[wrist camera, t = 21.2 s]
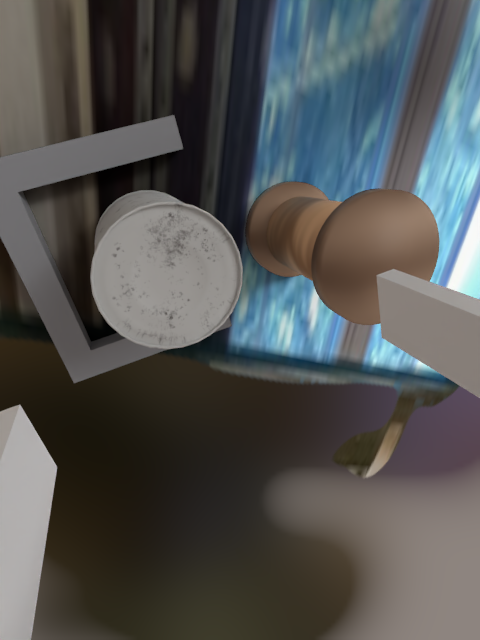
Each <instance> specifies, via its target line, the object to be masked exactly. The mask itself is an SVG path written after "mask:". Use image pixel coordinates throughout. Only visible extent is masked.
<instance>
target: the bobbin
mask: <svg viewBox="0 0 480 640" xmlns="http://www.w3.org/2000/svg"><path fill="white" fill-rule="evenodd" d="M245 233H246V242H247V246H248V249H249V251H250V253H251V255H252V256H253V258H254V259H255V260H256V262H257V263H258V264H260V265H261V266H262V267H264V268H265V269H267V270H268V271H270V272H272V273H274V274H276V275H279V276H284V277H294V276H299V275H303V276H305V277H307V278H308V279H310V280H312V281H313V284H314V287H315V289H316V292H317V294H318V295H319V297H320V299H321V300H322V301H323V303H324V304H325V305H326V306H327V307H328V308H329V309H331V310H332V311H334V312H335V313H337V314H338V315H340V316H342V317H343V318H345V319H346V320H349V321H351V322H353V323H357V324H362V325H374V324H379V323H381V321H380V310H379V299H378V287H377V276H376V275H378V274H381V273H384V272H387V271H389V270H392V269H395V270H398V271H401V272H404V273H406V274H409V275H412V276H415V277H418V278H420V279H423V280H426V281H430V279H431V277H432V275H433V272H434V269H435V266H436V262H437V258H438V252H439V233H438V228H437V224H436V221H435V218H434V216H433V214H432V212H431V210H430V209H429V207H428V206H427V205H426V204H425V203H424V202H423V201H422V200H421V199H420V198H418V197H417V196H416V195H413V194H411V193H409V192H406V191H402V190H390V189H370V190H365V191H362V192H359V193H357V194H355V195H353V196H351V197H349V198H348V199H346V200H345V201H344V202H338V201H331V200H329V199H328V198H327V196H326V195H325V194H324V193H323V192H322V191H321V190H319V189H318V188H316V187H315V186H313V185H310V184H307V183H303V182H283V183H279V184H276V185H274V186H272V187H270V188H268V189H267V190H265V191H264V192H263V193H262V194H261V195H260V196H259V197H258V198H257V199H256V201H255V202H254V204H253V205H252V207H251V209H250V211H249V214H248V217H247V221H246V229H245Z"/></svg>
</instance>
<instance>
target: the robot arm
mask: <svg viewBox="0 0 480 640" xmlns="http://www.w3.org/2000/svg"><path fill="white" fill-rule="evenodd" d="M376 276H377V287H378V299H379V310H380V321H381V333H382V338H384V339H385V340H387V341H388V342H390V343H392V344H393V345H395V346H397V347H398V348H400V349H401V350H403V351H405V352H406V353H408V354H409V355H411V356H413V357H414V358H416V359H418V360H419V361H421V362H422V363H424V364H426V365H427V366H429V367H431V368H432V369H434V370H435V371H437V372H439V373H440V374H442V375H443V376H445V377H447V378H448V379H450V380H452V381H453V382H455V383H456V384H458V385H460V386H461V387H463V388H465V389H466V390H468V391H469V392H471V393H473V394H474V395H476V396H477V397H479V398H480V300H479V299H476V298H474V297H471V296H468V295H465V294H462V293H460V292H457V291H454V290H451V289H448V288H446V287H443V286H440V285H437V284H434V283H432V282H429V281H426V280H423V279H420V278H418V277H415V276H412V275H409V274H406V273H404V272H401V271H398V270H395V269H392V270H389V271H387V272H384V273H381V274H378V275H376ZM56 471H57V466H56V464H55V463H54V461H53V459H52V458H51V456H50V455H49V453H48V451H47V449H46V447H45V446H44V444H43V442H42V441H41V439H40V437H39V436H38V434H37V432H36V431H35V429H34V427H33V426H32V424H31V422H30V420H29V419H28V417H27V415H26V414H25V412H24V410H23V409H22V407H21V405H17V406H14V407H12V408H9V409H6V410H3V411H1V412H0V640H31V635H32V628H33V622H34V615H35V609H36V602H37V596H38V589H39V583H40V582H39V581H40V576H41V570H42V562H43V556H44V550H45V543H46V537H47V530H48V524H49V517H50V511H51V504H52V497H53V491H54V484H55V478H56Z"/></svg>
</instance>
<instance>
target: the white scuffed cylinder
mask: <svg viewBox="0 0 480 640" xmlns="http://www.w3.org/2000/svg"><path fill="white" fill-rule="evenodd" d="M94 243H95V252H94V256H93V258H92V265H91V274H90V280H91V288H92V295H93V297H94V300H95V302H96V305H97V307H98V310H99V312H100V313H101V314H102V316H103V317H104V319H105V320H106V322H107V323H108V324H109V325H110V326H111V327H112V328H113V329H114V330H115V331H117V332H118V333H119V334H120V335H121V336H123V337H125V338H127V339H128V340H130V341H132V342H134V343H136V344H139V345H143V346H146V347H149V348H158V349H173V348H182V347H185V346H188V345H191V344H194V343H197V342H199V341H201V340H203V339H204V338H206V337H208V336H210V335H211V334H212V333H214V332H215V331H216V330H217V329H218V328H219V327H220V326H222V325H223V324H224V322H225V321H226V320H227V318H228V317H229V316H230V314H231V313H232V311H233V309H234V307H235V305H236V303H237V301H238V299H239V295H240V291H241V287H242V276H243V267H242V262H241V257H240V252H239V250H238V248H237V245H236V243H235V241H234V239H233V237H232V236H231V234H230V233H229V232H228V230H227V229H226V228H225V226H224V225H223V224H222V223H221V222H220V221H218V220H217V219H216V218H215V217H213V216H212V215H211V214H210V213H208V212H206V211H204V210H202V209H200V208H198V207H196V206H193V205H189V204H185V203H183V202H181V201H179V200H178V199H176V198H174V197H172V196H170V195H168V194H166V193H162V192H158V191H154V190H140V191H136V192H132V193H128V194H126V195H124V196H122V197H120V198H118V199H117V200H116V201H114V202H113V203H112V204H111V205H110V206H109V207H108V208H107V209H106V210H105V212H104V213H103V215H102V216H101V218H100V220H99V223H98V225H97V228H96V233H95V241H94Z"/></svg>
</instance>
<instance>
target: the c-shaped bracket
mask: <svg viewBox="0 0 480 640" xmlns="http://www.w3.org/2000/svg"><path fill="white" fill-rule="evenodd" d="M181 149H183V146H182V142H181V139H180V135H179V131H178V128H177V124H176V120H175V117H174V115H172V116H168V117H163V118H159V119H155V120H151V121H147V122H143V123H139V124H135V125H131V126H127V127H122V128H118V129H114V130H110V131H106V132H102V133H98V134H94V135H90V136H85V137H81V138H77V139H73V140H69V141H65V142H61V143H57V144H53V145H49V146H44V147H40V148H36V149H32V150H28V151H24V152H20V153H16V154H12V155H8V156H3V157H0V237H1V239H2V241H3V243H4V245H5V247H6V249H7V251H8V253H9V255H10V257H11V259H12V261H13V263H14V265H15V267H16V269H17V271H18V273H19V275H20V277H21V279H22V281H23V283H24V285H25V287H26V289H27V291H28V293H29V295H30V297H31V299H32V301H33V303H34V305H35V307H36V309H37V311H38V313H39V315H40V317H41V319H42V321H43V323H44V325H45V327H46V329H47V331H48V333H49V335H50V337H51V339H52V341H53V343H54V344H55V346H56V348H57V350H58V352H59V354H60V356H61V358H62V360H63V362H64V364H65V366H66V368H67V370H68V372H69V374H70V376H71V378H72V380H73V382H74V383H76V382H79V381H82V380H85V379H87V378H90V377H93V376H96V375H98V374H101V373H104V372H107V371H109V370H112V369H115V368H118V367H120V366H123V365H126V364H129V363H131V362H134V361H137V360H140V359H142V358H145V357H148V356H151V355H153V354H156V353H159V352H162V351H164V350H167V349H158V348H149V347H146V346H143V345H139V344H136V343H134V342H132V341H130V340H128V339H127V338H125V337H123V336H121V335H120V334H119V333H115V334H112V335H110V336H107V337H104V338H101V339H98V340H95V341H92V342H91V340H90V338H89V336H88V334H87V331H86V329H85V327H84V325H83V323H82V320H81V318H80V316H79V314H78V312H77V309H76V307H75V305H74V303H73V301H72V298H71V296H70V294H69V292H68V290H67V287H66V285H65V283H64V281H63V279H62V276H61V274H60V272H59V270H58V268H57V266H56V263H55V261H54V259H53V257H52V255H51V252H50V250H49V248H48V246H47V244H46V241H45V239H44V237H43V235H42V233H41V230H40V228H39V226H38V224H37V222H36V219H35V217H34V215H33V213H32V211H31V208H30V206H29V204H28V202H27V200H26V197H25V195H24V193H23V191H24V190H28V189H32V188H36V187H40V186H43V185H47V184H51V183H55V182H59V181H62V180H66V179H70V178H74V177H78V176H82V175H85V174H89V173H93V172H97V171H101V170H104V169H108V168H112V167H116V166H120V165H123V164H127V163H131V162H135V161H139V160H143V159H146V158H150V157H154V156H158V155H162V154H165V153H169V152H173V151H177V150H181ZM230 326H232V325H231V322H230V318H229V317H228V318H227V320H226V321H225V322H224V324H223V325H222V326H220V327H219V328H218V329H217V330H216V331H215V332H217V331H219V330H222V329H225V328H228V327H230Z"/></svg>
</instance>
